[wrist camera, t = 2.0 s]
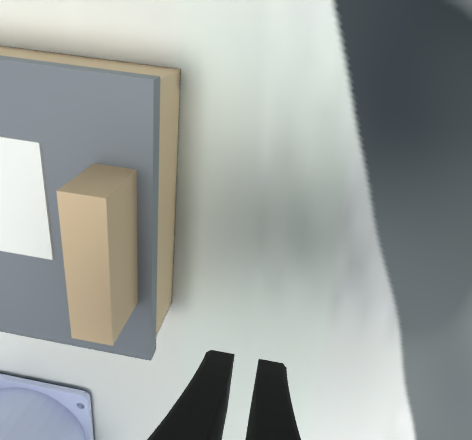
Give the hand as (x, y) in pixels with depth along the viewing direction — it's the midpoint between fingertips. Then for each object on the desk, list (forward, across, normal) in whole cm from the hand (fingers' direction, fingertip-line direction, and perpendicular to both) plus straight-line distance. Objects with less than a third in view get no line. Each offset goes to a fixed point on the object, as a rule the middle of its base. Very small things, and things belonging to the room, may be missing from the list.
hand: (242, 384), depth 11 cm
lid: (+7, +10, 0) cm, 12 cm away
